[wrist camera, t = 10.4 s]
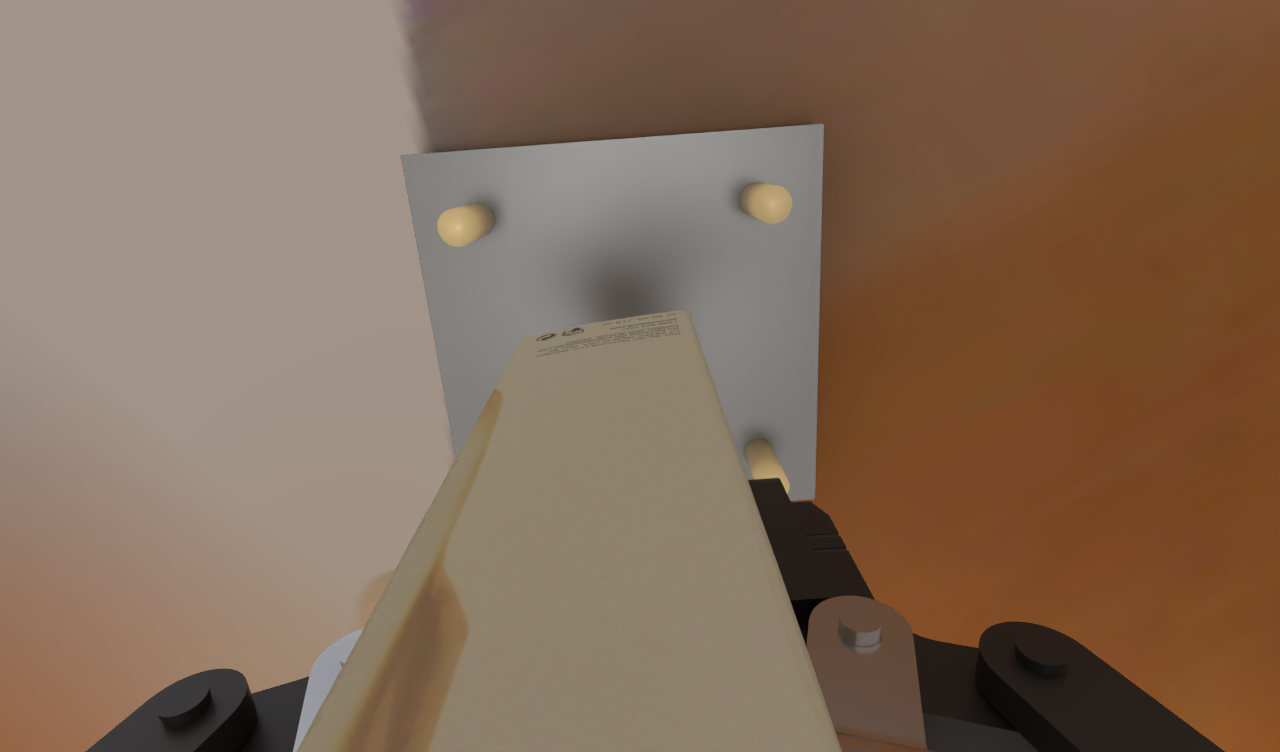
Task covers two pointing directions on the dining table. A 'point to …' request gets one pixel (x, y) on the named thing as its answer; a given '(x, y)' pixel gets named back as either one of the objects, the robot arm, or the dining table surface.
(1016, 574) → the dining table surface
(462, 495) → the skincare box
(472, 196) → the standoff plate
